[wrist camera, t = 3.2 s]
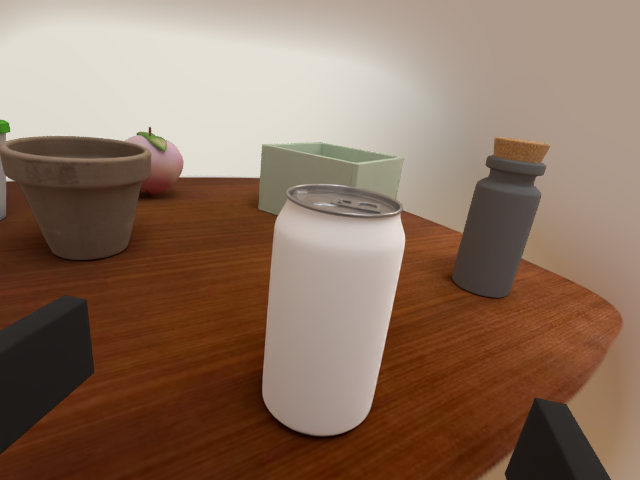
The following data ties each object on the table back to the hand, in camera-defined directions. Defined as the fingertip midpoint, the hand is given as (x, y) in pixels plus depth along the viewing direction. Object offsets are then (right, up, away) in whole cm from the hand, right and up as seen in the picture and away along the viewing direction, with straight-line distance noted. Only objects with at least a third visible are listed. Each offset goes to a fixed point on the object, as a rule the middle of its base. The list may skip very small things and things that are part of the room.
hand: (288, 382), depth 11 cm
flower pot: (-22, +3, +26) cm, 34 cm away
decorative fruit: (-25, +11, +46) cm, 53 cm away
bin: (+2, +8, +48) cm, 49 cm away
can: (+1, -5, +11) cm, 12 cm away
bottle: (+18, -1, +29) cm, 34 cm away
